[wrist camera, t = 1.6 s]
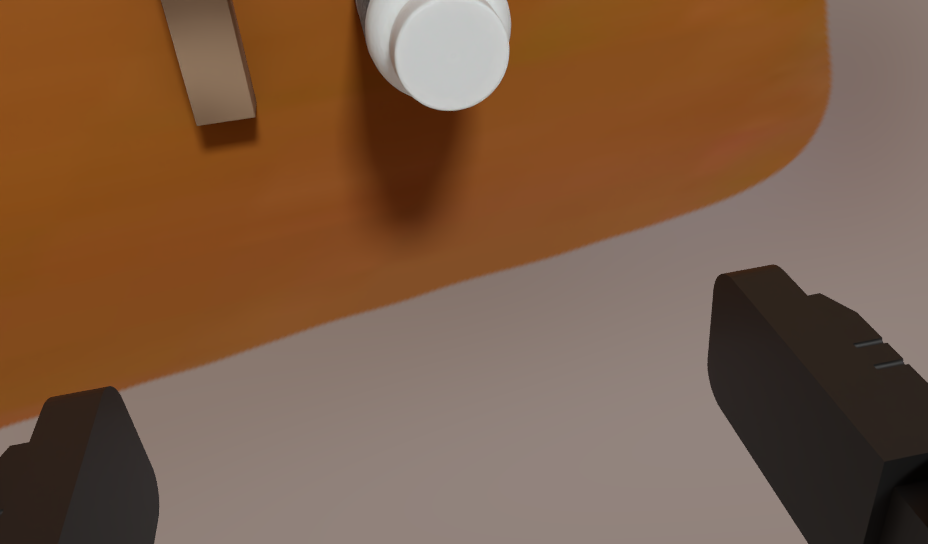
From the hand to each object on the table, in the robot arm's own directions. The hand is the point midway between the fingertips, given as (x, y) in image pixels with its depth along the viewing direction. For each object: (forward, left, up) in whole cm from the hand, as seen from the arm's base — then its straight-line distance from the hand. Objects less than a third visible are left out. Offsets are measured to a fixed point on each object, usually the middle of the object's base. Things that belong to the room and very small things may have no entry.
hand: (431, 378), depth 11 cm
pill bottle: (+2, +3, -28) cm, 28 cm away
